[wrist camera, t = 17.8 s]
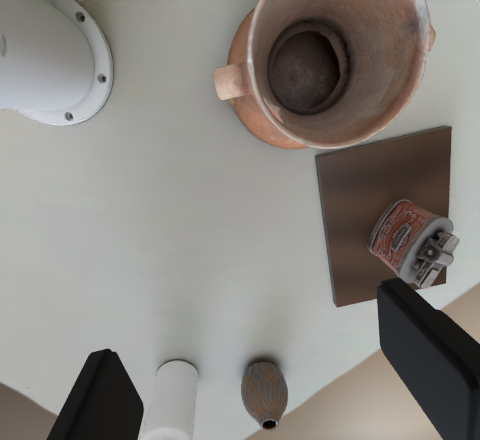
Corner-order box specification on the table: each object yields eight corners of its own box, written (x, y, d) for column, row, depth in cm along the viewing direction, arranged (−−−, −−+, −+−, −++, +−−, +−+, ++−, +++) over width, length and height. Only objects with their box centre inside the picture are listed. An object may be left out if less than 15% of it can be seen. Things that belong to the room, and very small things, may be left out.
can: (156, 388, 47) (136, 476, 35) (157, 357, 44) (135, 440, 33) (197, 389, 47) (189, 475, 36) (199, 358, 45) (191, 440, 34)
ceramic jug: (229, 158, 35) (233, 185, 21) (201, 18, 30) (186, -61, 16) (376, 129, 35) (473, 139, 21) (374, -16, 30) (499, -123, 16)
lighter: (393, 194, 36) (453, 221, 27) (415, 203, 37) (481, 233, 28) (361, 248, 39) (406, 291, 29) (382, 256, 39) (433, 300, 30)
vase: (291, 368, 47) (305, 422, 39) (261, 392, 48) (269, 449, 40) (260, 346, 45) (269, 398, 37) (231, 373, 46) (232, 428, 38)
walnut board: (314, 156, 35) (317, 157, 34) (444, 125, 35) (451, 126, 34) (333, 302, 43) (336, 307, 42) (440, 278, 43) (446, 283, 41)
